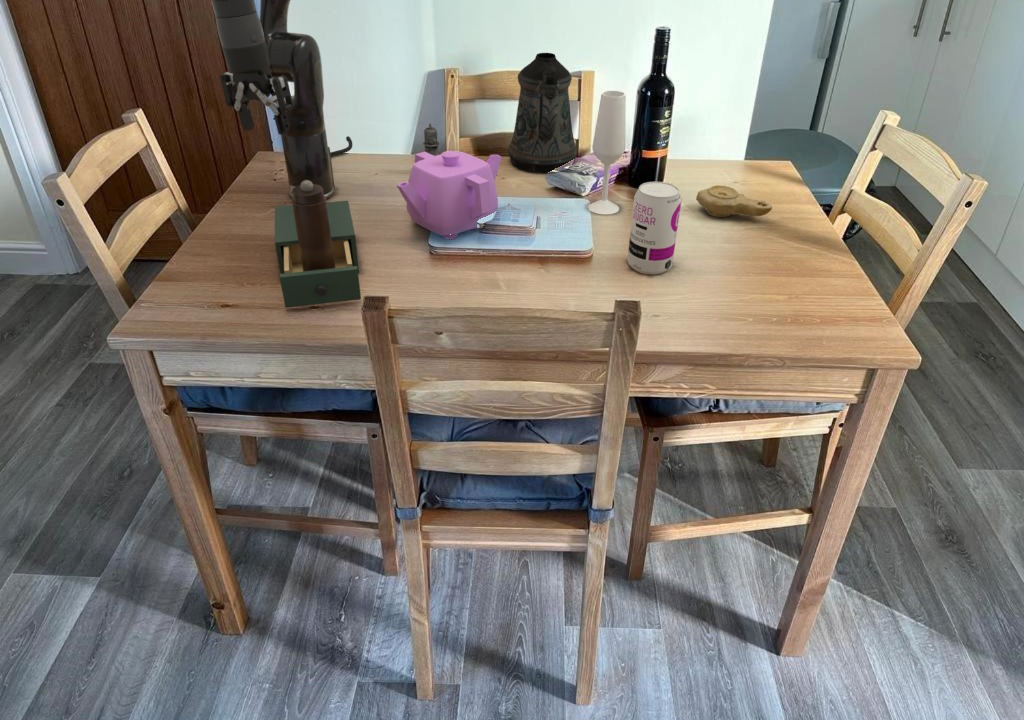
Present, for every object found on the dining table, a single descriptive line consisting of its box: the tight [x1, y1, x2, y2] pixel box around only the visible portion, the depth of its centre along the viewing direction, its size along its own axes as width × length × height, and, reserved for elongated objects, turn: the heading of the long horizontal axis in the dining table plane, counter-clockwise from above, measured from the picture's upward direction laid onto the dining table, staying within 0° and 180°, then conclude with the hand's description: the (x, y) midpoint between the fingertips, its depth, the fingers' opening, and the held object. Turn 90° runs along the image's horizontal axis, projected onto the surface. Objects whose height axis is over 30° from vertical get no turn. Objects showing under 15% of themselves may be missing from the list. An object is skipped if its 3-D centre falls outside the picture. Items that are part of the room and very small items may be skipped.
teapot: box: [396, 150, 502, 240], centre depth 151 cm, size 19×18×15 cm
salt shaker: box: [422, 123, 440, 156], centre depth 174 cm, size 6×6×12 cm
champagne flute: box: [587, 89, 627, 215], centre depth 156 cm, size 7×7×24 cm
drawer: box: [279, 239, 362, 309], centre depth 131 cm, size 16×12×6 cm
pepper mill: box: [291, 180, 335, 271], centre depth 126 cm, size 5×5×18 cm
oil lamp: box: [695, 184, 773, 218], centre depth 160 cm, size 11×14×5 cm
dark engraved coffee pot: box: [507, 52, 578, 174], centre depth 177 cm, size 16×19×25 cm
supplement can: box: [627, 181, 683, 276], centre depth 137 cm, size 8×8×15 cm
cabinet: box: [274, 199, 360, 274], centre depth 140 cm, size 16×14×8 cm
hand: (266, 131), depth 143 cm, fingers open, 8 cm apart
